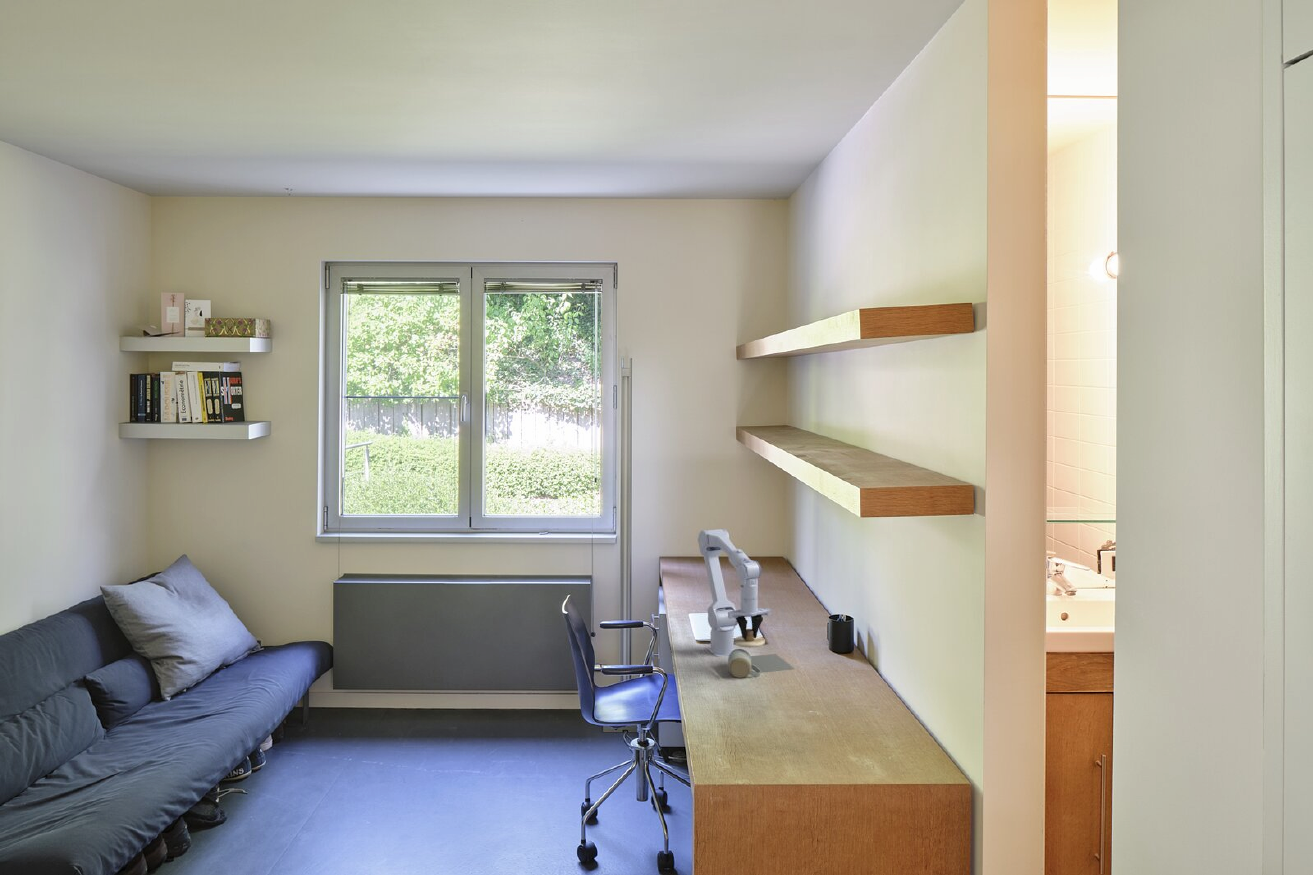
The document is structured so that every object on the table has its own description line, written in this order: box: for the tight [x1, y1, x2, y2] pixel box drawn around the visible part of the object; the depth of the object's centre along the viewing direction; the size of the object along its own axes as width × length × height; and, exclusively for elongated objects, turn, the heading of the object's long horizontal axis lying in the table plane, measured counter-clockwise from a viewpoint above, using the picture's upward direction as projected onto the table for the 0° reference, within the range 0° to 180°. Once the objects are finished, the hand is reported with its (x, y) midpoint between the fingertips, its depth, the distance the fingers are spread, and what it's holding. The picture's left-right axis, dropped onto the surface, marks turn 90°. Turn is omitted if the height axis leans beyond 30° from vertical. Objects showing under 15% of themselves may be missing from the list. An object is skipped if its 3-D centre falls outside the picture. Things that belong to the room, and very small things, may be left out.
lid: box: [734, 628, 766, 648], centre depth 274 cm, size 10×10×4 cm
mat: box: [750, 653, 796, 674], centre depth 279 cm, size 16×12×1 cm
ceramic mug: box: [727, 648, 762, 679], centre depth 268 cm, size 11×8×8 cm
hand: (749, 637), depth 274 cm, fingers closed on lid, 3 cm apart
